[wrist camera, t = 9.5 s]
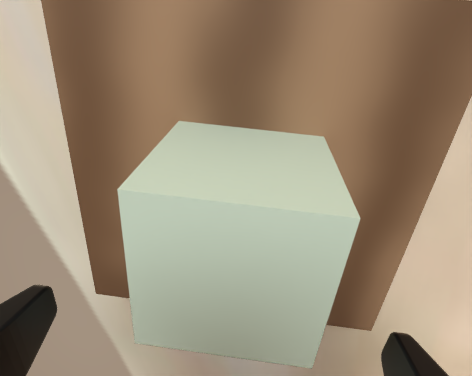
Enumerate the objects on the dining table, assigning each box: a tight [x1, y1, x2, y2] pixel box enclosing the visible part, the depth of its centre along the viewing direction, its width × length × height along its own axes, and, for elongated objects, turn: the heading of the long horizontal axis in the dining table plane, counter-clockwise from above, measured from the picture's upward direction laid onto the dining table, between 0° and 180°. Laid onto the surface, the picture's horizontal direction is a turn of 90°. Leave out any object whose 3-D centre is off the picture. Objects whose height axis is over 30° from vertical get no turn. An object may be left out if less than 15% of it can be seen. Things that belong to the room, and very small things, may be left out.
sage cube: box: [117, 121, 361, 369], centre depth 12 cm, size 6×6×6 cm
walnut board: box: [41, 0, 472, 331], centre depth 16 cm, size 16×16×3 cm
